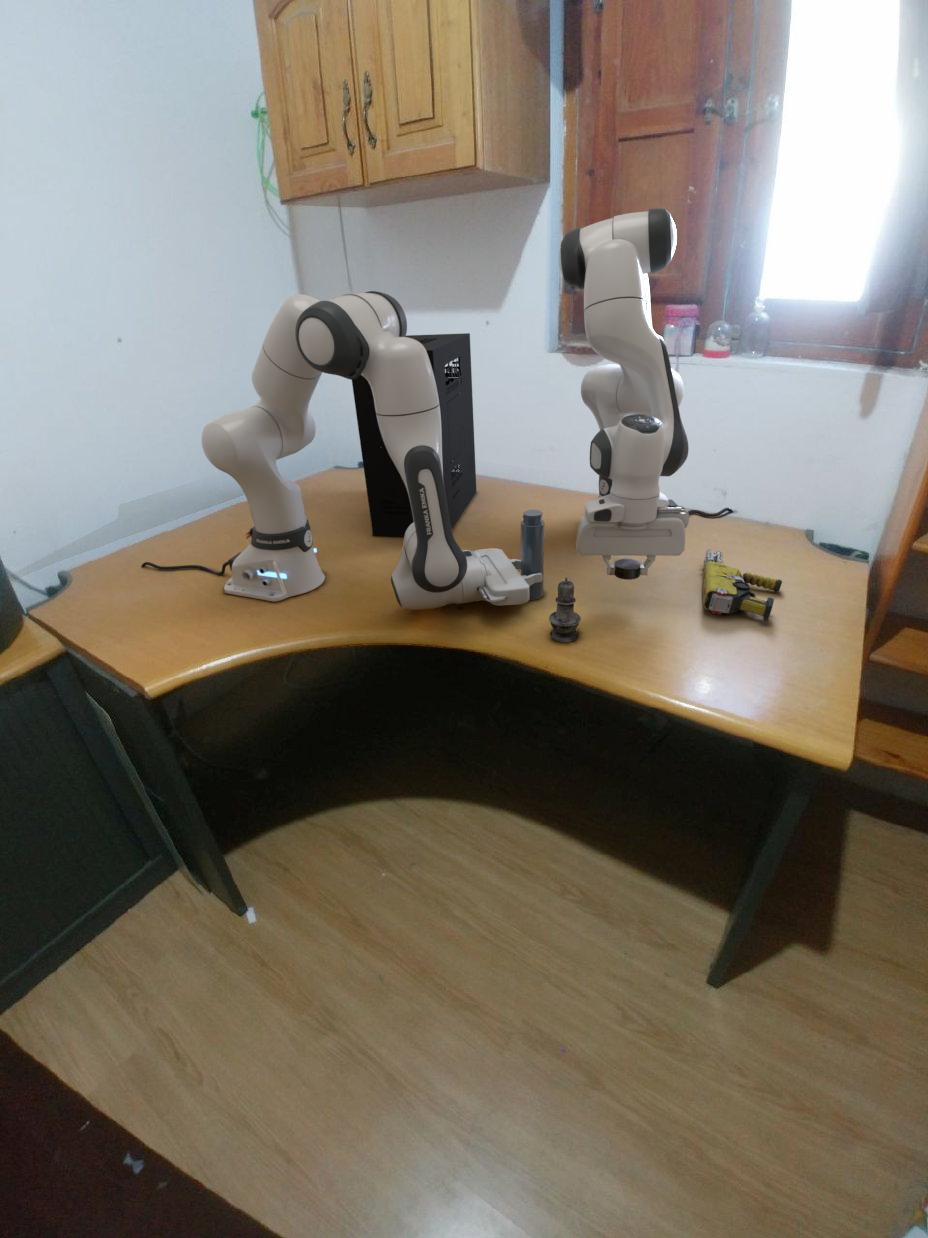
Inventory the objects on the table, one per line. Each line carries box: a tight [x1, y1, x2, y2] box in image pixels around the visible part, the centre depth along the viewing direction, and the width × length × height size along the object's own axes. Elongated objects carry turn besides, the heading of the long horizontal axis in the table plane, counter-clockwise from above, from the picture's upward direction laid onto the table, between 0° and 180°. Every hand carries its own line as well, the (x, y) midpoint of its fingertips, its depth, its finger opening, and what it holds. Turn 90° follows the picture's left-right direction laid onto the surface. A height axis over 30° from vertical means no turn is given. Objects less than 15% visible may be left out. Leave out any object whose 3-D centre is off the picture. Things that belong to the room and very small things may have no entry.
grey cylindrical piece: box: [520, 509, 545, 601], centre depth 123 cm, size 5×5×18 cm
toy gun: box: [702, 548, 783, 622], centre depth 122 cm, size 5×24×15 cm
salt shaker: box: [548, 576, 582, 643], centre depth 110 cm, size 6×6×12 cm
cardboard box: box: [351, 332, 477, 538], centre depth 163 cm, size 38×20×45 cm, turn 167°
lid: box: [613, 558, 642, 581], centre depth 119 cm, size 5×5×2 cm
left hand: (536, 570), depth 125 cm, fingers closed on grey cylindrical piece, 5 cm apart
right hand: (626, 574), depth 120 cm, fingers closed on lid, 5 cm apart
